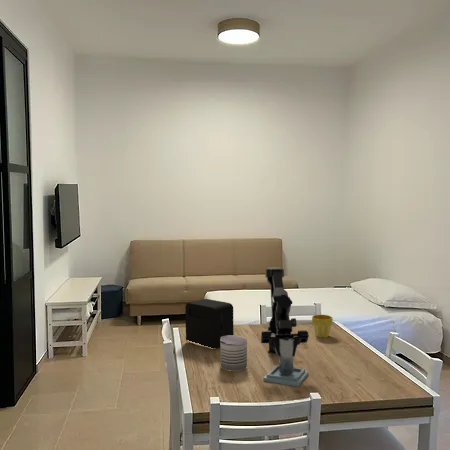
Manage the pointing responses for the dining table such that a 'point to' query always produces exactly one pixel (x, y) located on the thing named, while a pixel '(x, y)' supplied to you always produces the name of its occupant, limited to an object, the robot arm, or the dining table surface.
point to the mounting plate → (286, 376)
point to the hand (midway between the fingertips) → (286, 356)
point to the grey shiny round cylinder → (286, 355)
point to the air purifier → (208, 321)
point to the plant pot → (322, 325)
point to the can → (233, 352)
